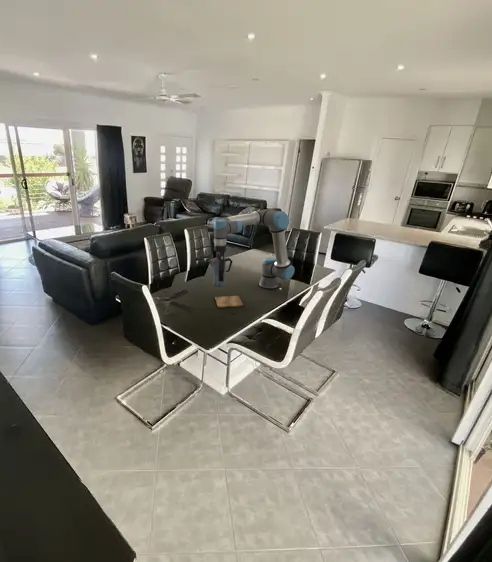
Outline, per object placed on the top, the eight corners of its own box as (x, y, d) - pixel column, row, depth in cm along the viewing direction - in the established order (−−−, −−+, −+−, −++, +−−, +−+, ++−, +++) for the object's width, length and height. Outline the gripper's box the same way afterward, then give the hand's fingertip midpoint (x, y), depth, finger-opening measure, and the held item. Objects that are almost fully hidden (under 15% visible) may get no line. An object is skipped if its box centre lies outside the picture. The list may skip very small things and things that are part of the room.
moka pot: (207, 282, 215) (207, 253, 207) (230, 281, 216) (230, 252, 208) (209, 287, 206) (209, 258, 198) (233, 286, 207) (233, 257, 200)
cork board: (238, 297, 241) (238, 295, 240) (243, 306, 226) (243, 304, 225) (214, 298, 239) (214, 296, 238) (218, 307, 224) (218, 306, 224)
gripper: (212, 240, 210) (212, 273, 219) (216, 249, 191) (217, 284, 199) (223, 240, 211) (223, 272, 219) (229, 249, 192) (228, 284, 200)
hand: (220, 278), depth 209 cm, fingers closed on moka pot, 8 cm apart
